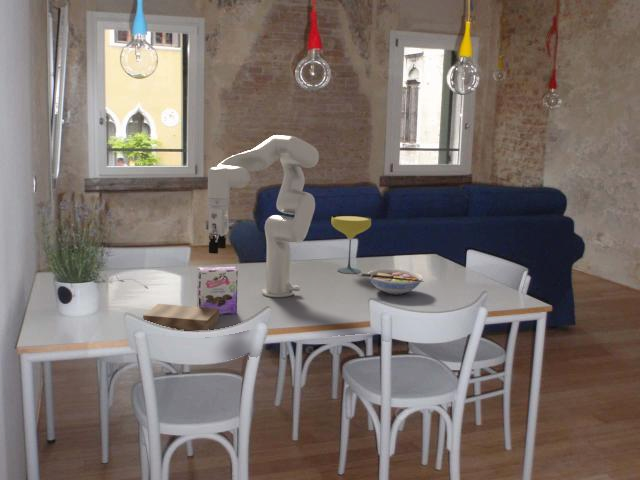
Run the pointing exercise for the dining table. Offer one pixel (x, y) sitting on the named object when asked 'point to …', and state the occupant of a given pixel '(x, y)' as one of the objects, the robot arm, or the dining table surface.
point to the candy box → (218, 289)
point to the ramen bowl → (394, 280)
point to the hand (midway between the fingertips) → (217, 250)
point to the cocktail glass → (350, 231)
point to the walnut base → (183, 316)
